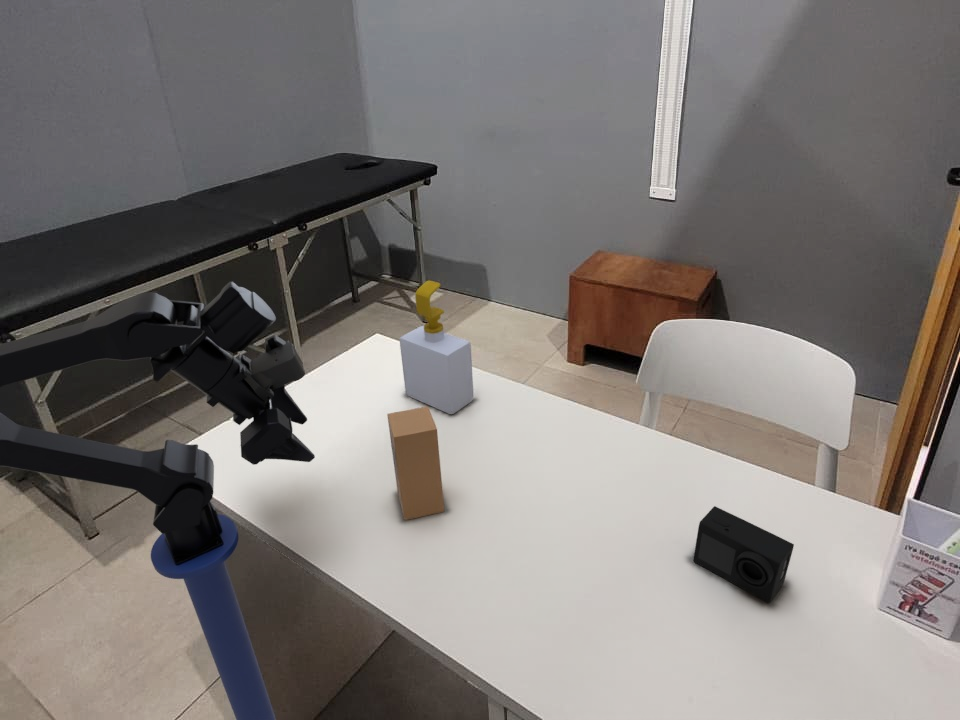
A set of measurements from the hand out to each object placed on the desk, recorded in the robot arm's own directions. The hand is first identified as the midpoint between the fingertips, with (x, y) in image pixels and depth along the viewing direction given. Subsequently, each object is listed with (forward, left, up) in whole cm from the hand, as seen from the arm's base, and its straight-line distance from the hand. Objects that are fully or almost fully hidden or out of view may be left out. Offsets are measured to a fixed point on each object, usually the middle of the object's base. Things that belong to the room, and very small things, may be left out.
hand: (308, 439), depth 89 cm
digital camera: (+38, -43, -15) cm, 59 cm away
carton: (+13, -6, -14) cm, 20 cm away
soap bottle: (+31, +17, -15) cm, 38 cm away
